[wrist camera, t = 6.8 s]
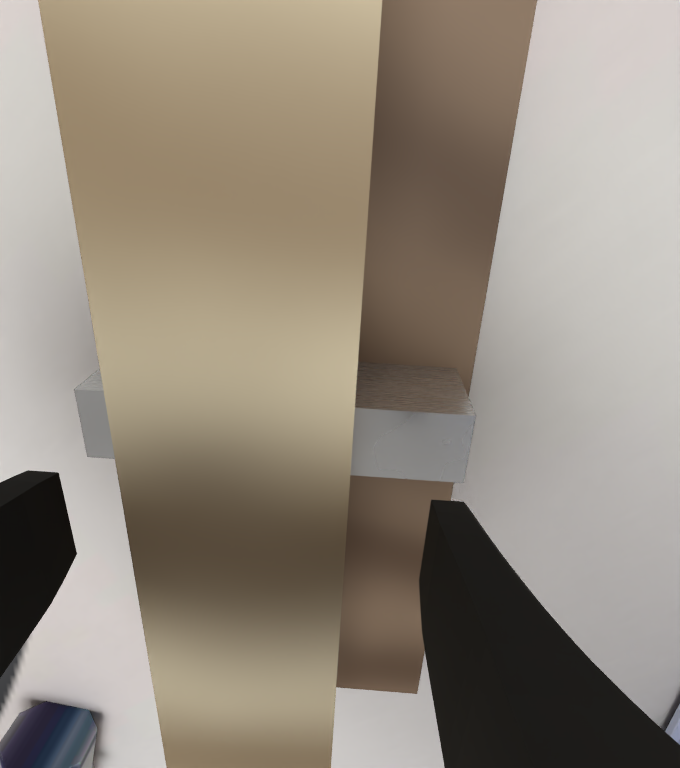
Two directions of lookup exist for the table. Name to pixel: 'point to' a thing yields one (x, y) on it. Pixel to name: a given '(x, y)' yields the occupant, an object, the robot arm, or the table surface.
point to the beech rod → (227, 338)
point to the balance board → (424, 281)
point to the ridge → (364, 422)
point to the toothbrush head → (50, 738)
